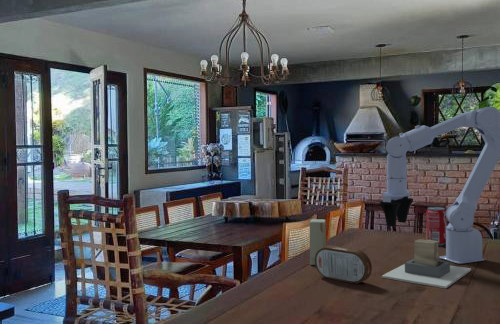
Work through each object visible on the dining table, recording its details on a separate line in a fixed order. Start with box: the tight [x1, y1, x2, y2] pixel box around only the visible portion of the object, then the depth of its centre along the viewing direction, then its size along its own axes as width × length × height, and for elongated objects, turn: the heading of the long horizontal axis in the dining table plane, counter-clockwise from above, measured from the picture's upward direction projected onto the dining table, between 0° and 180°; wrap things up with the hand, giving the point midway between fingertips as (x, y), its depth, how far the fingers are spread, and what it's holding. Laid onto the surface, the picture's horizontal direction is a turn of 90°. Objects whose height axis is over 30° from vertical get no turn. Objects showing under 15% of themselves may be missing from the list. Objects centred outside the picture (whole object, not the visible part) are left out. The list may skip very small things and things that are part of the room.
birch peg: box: [413, 238, 439, 267], centre depth 132 cm, size 4×5×8 cm
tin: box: [314, 244, 373, 285], centre depth 127 cm, size 15×3×8 cm, turn 50°
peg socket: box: [381, 257, 472, 289], centre depth 132 cm, size 20×16×3 cm
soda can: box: [425, 206, 447, 247], centre depth 167 cm, size 6×6×12 cm
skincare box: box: [309, 218, 327, 266], centre depth 145 cm, size 6×4×12 cm
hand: (396, 224), depth 150 cm, fingers open, 7 cm apart
